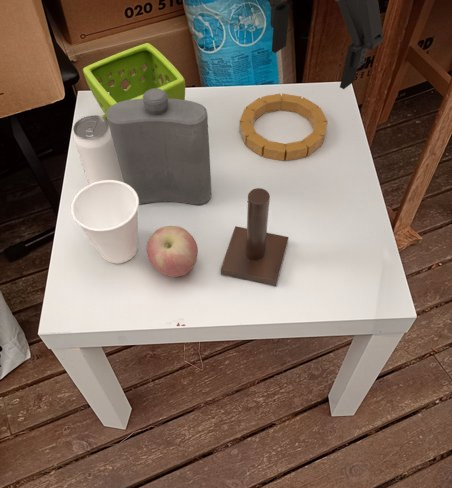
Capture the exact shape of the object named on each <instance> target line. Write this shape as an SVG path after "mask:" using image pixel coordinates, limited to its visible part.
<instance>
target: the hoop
mask: <svg viewBox="0 0 452 488" xmlns="http://www.w3.org/2000/svg"><path fill="white" fill-rule="evenodd" d="M276 111H286V112H292V113H296V114H298V115H300V116H301V117H303V118H304V119H307V120H308V121H309V123H310V126H311V127H312V129H313V130H312V132H310V134H308V135H307V136H305V138H303V139H302V140H298V141H293V142H287V143H282V142H277V141H272V140H268V139H267V138H265V137H264V136H262V135H261V134H259V133H258V132H256V129H255V126H254V124H255V121H256V120H257V119H259V118H260V117H262V116H264V115H265V114H266V113H272V112H276ZM327 127H328V119H327V117H326V115H325V114H324V112H323V110H322V108H321V107H320V106H319V105H318V104H317V103H315V102H313V101H311V100H309V99H308V98H305V97H304V96H303V97H302V96H300V95H294V94H289V93H275V94H274V93H273V94H269V95H264V96H261V97H257V99H255V100H254V101H252V102H251V103H249V104H247V105H246V106H245V107H244V109H243V112H242V114H241V117H240V119H239V134H240V136H241V138H242V141H243V143H244V145H245V146H246V148H248V150H249V149H250V150H251V151H252V152H254V153H255V154H257V155H258V156H260V157H263V158H266V159H270V160H276V161H281V162H288V161H294V160H299V159H303V158H304V159H305V158H307V157H309V156H310V155H312V154H313V153H314V152H316V151H317V150H318V149H319V148H321V147H322V145H323V144H324V139H325V137H326V132H327Z"/></svg>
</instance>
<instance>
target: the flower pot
mask: <svg viewBox="0 0 452 488" xmlns="http://www.w3.org/2000/svg"><path fill="white" fill-rule="evenodd" d="M144 64H145V65H146V66H145V68H144V69H143V66H144ZM132 71H134V73H132ZM82 72H83V75H84V78H85V81H86V83H87V85H88V88H89V89H90V92H91V93H92V96H93V97H94V99H95V100H96V102H97V104H98V106H99V107H100V109H101V110H102V112H103V113H104V114H102V115H101V117H103V118H105V119H106V120H107V114H106V112H107V111H108V109H109V108H110V107H111V106H112V105H114V104H116V103H119V102H122V101H126V100H133V99H143V95H144V93H145V92H147V91H148V90H150V89H154V88H157V89H161V90H163V91H165V92H166V93H167V98H168V99H180V100H186V81H185V78H184V76H183V75H182V73H180V71H179V70H178V69H177V68H176V66H174V65H173V63H172V62H171V61H170V60H169V59H167V58H166V56H165V55H164V54H163V53H162V52H160V50H158V49H157V48H156V47H155V46H153V45H152V44H151V43H149V42H146V43H143V44H140V45H137V46H134V47H131V48H128V49H126V50H123V51H120V52H118V53H114V54H113V55H111V56H108V57H106V58H103V59H101V60H98V61H96V62H93V63H91V64H89V65H86V66H85V67H83V68H82ZM120 73H121V74H120ZM131 73H132V74H131ZM109 74H110V75H109ZM99 80H100V81H101V82H99ZM125 80H126V81H127V82H128V83H129V85H128V86H127V88H123V87H122V86H121V84H122V83H123V81H125ZM112 81H113V84H112V85H110V82H112ZM162 81H163V82H162ZM107 122H108V120H107ZM108 125H109V124H108Z"/></svg>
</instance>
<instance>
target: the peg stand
mask: <svg viewBox="0 0 452 488" xmlns="http://www.w3.org/2000/svg"><path fill="white" fill-rule="evenodd" d="M270 200H271V195H270V192H269V191H268V190H266V189H264V188H262V187H261V188H260V187H257V188H253V189H251V190H250V191H249V192H248V193H247V214H246V215H247V216H246V227H241V226H236V225H235V226H234V229H233V232H232V235H231V238H230V241H229V244H228V247H227V249H226V253H225V256H224V259H223V261H222V263H221V268H220V275H221V276H225V277H226V276H227V277H230V278H231V277H232V278H236V279H240V280H244V281H249V282H253V283H258V284H263V285H267V286H271V287H277V286H278V282H279V278H280V274H281V270H282V266H283V262H284V259H285V255H286V251H287V248H288V245H289V238H290V237H289V236H287V235H281V234H275V233H271V232H268V221H269V210H270Z"/></svg>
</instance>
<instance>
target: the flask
mask: <svg viewBox="0 0 452 488" xmlns="http://www.w3.org/2000/svg"><path fill="white" fill-rule="evenodd" d="M106 114H107V120H108V124H109V128H110V132H111V136H112V139H113V143H114V147H115V151H116V155H117V159H118V163H119V166H120V170H121V174H122V178H123V182H124V183H126V184H128V185H129V186H131V187H132V188H133V189H134V190H135V192H136V193H137V195H138V198H139V205H142V204H143V205H144V204H149V203H150V204H151V203H159V202H169V203H171V202H172V203H174V202H175V203H182V204H183V203H184V204H190V205H195V206H198V205H199V206H200V205H204V204H206V203H208V202H209V200H211V197H212V193H213V192H212V176H211V158H210V157H211V156H210V140H209V137H210V136H209V118H208V110H207V108H206V107H205V106H204V105H203V104H200V103H199V102H195V101H193V100H186V99H185V100H180V99H168V98H167V93H166V92H165V91H163V90H161V89H157V88H154V89H150V90H148V91H147V92H145V93H144V95H143V99H133V100H126V101H122V102H119V103H116V104H114V105H112V106H111V107H110V108H109V109H108V111H107V112H106Z"/></svg>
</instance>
